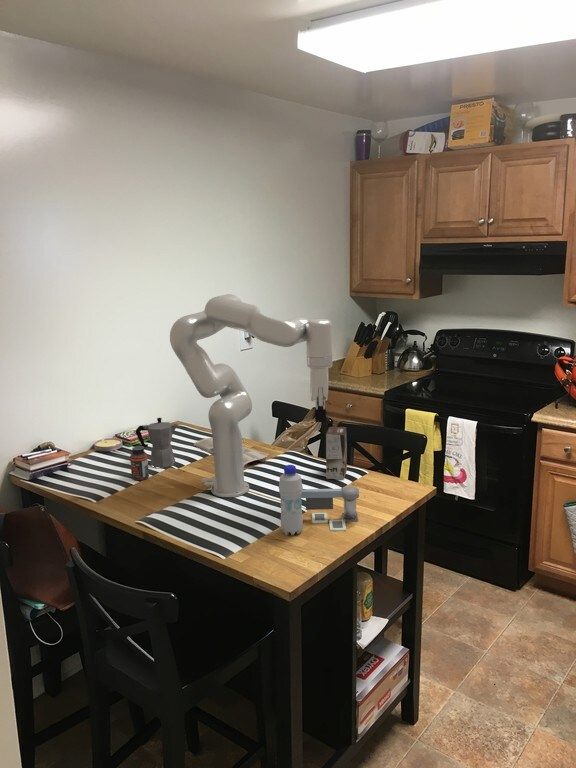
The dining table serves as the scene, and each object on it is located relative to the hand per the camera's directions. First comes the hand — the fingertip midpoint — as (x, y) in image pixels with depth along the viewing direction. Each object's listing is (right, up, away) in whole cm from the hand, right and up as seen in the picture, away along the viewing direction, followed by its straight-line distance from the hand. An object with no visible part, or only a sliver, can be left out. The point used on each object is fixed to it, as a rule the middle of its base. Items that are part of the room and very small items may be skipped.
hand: (320, 420), depth 187 cm
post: (+9, -28, -3) cm, 30 cm away
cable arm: (+1, -26, -4) cm, 26 cm away
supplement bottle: (-62, -22, +32) cm, 73 cm away
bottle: (-9, -31, -11) cm, 34 cm away
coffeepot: (-57, -19, +44) cm, 75 cm away
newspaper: (-32, -16, +54) cm, 64 cm away
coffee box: (+7, -21, +30) cm, 37 cm away
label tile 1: (0, -29, -3) cm, 29 cm away
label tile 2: (+4, -30, -8) cm, 31 cm away
